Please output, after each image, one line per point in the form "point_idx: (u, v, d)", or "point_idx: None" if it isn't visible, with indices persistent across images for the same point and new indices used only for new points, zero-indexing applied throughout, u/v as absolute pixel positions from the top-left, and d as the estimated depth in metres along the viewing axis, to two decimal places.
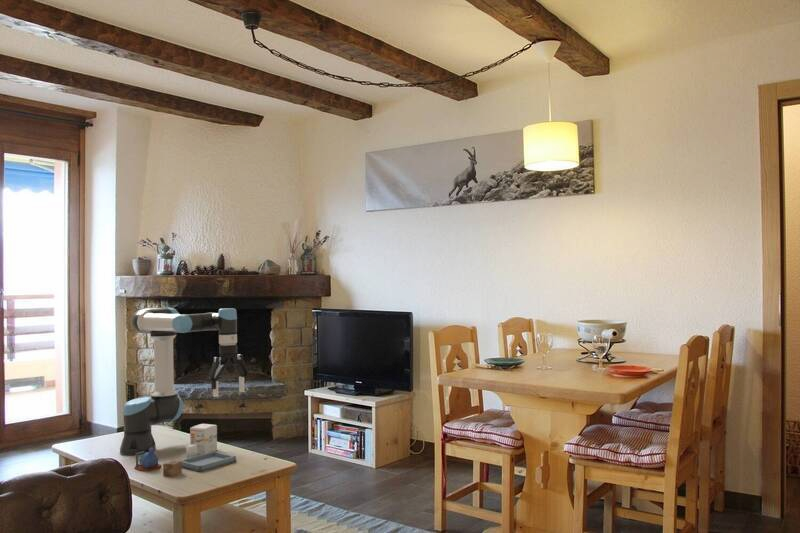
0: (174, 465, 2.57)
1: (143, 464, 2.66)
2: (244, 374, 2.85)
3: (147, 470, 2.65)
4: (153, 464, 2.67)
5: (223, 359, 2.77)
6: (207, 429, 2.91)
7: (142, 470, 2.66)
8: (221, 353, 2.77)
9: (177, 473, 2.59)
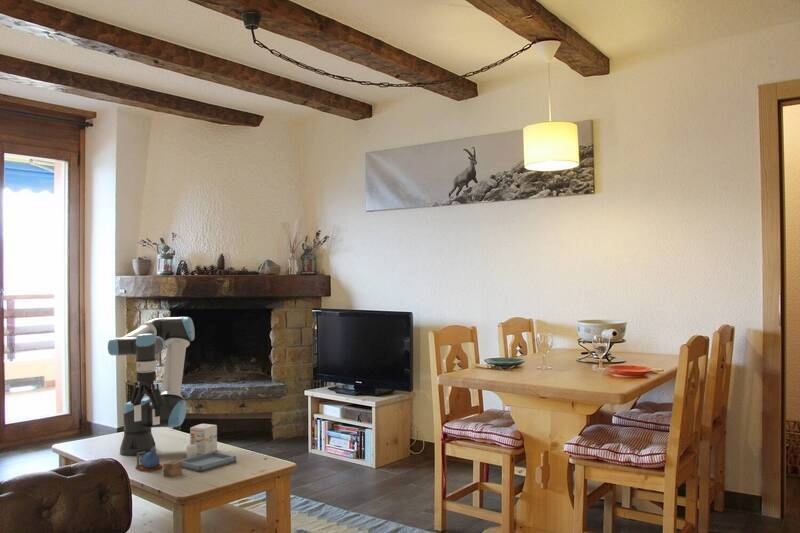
0: (174, 465, 2.57)
1: (145, 464, 2.66)
2: (154, 406, 2.66)
3: (149, 470, 2.65)
4: (155, 464, 2.67)
5: (139, 385, 2.73)
6: (207, 429, 2.91)
7: (144, 470, 2.66)
8: None
9: (177, 473, 2.59)
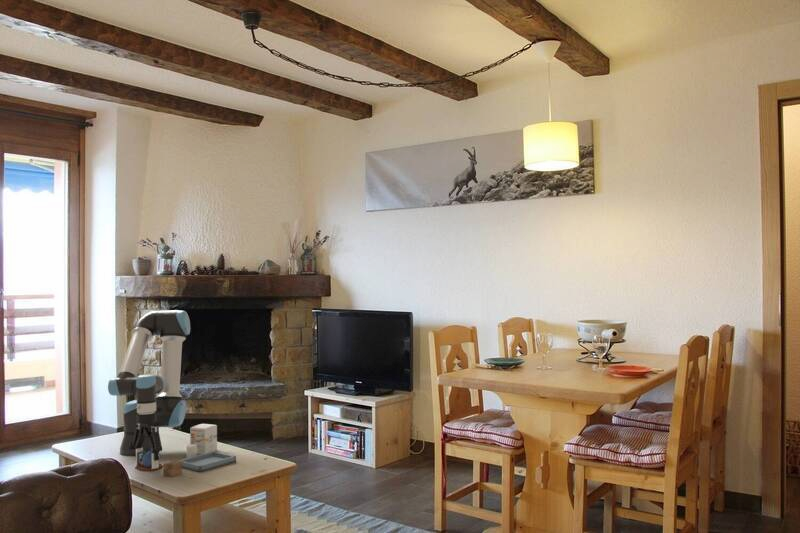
0: (174, 465, 2.57)
1: (145, 463, 2.67)
2: (153, 450, 2.66)
3: (149, 469, 2.66)
4: None
5: (139, 426, 2.72)
6: (207, 429, 2.91)
7: (144, 469, 2.66)
8: None
9: (177, 473, 2.59)
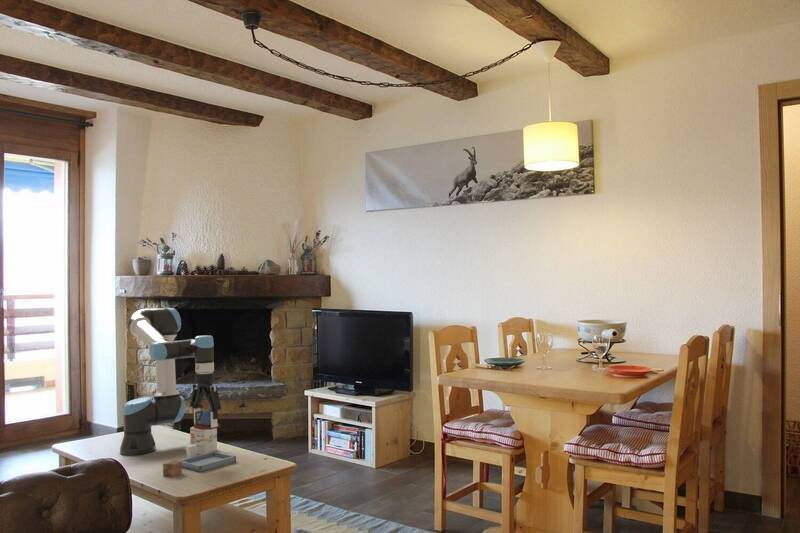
0: (174, 465, 2.57)
1: (204, 422, 2.70)
2: (212, 409, 2.69)
3: (208, 428, 2.69)
4: None
5: (197, 386, 2.76)
6: None
7: (203, 428, 2.69)
8: None
9: (177, 473, 2.59)
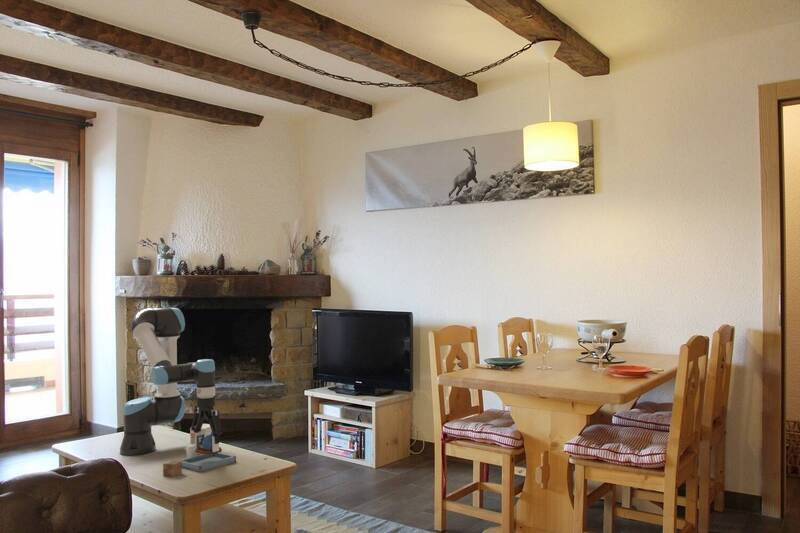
0: (174, 465, 2.57)
1: (205, 446, 2.70)
2: (214, 433, 2.69)
3: (210, 452, 2.69)
4: None
5: (199, 410, 2.76)
6: (207, 429, 2.91)
7: (205, 452, 2.69)
8: None
9: (177, 473, 2.59)
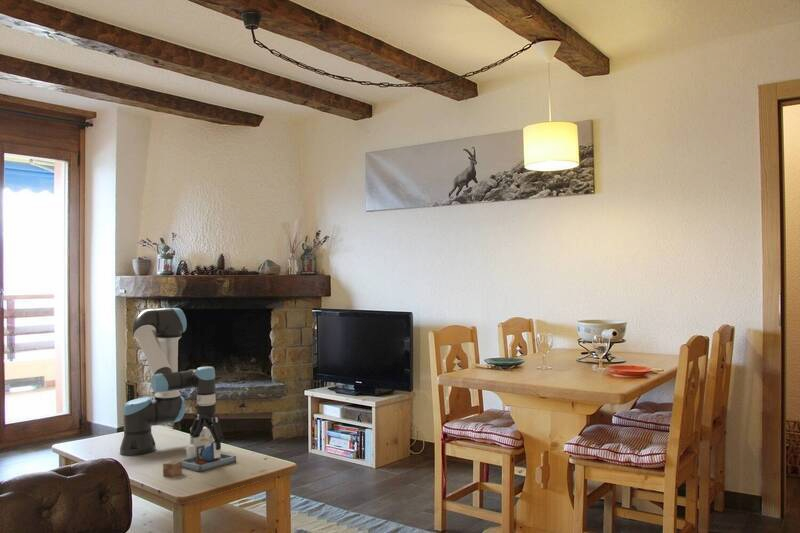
0: (174, 465, 2.57)
1: (205, 458, 2.70)
2: (215, 439, 2.69)
3: None
4: (215, 458, 2.71)
5: (199, 418, 2.75)
6: (207, 429, 2.91)
7: None
8: None
9: (177, 473, 2.59)
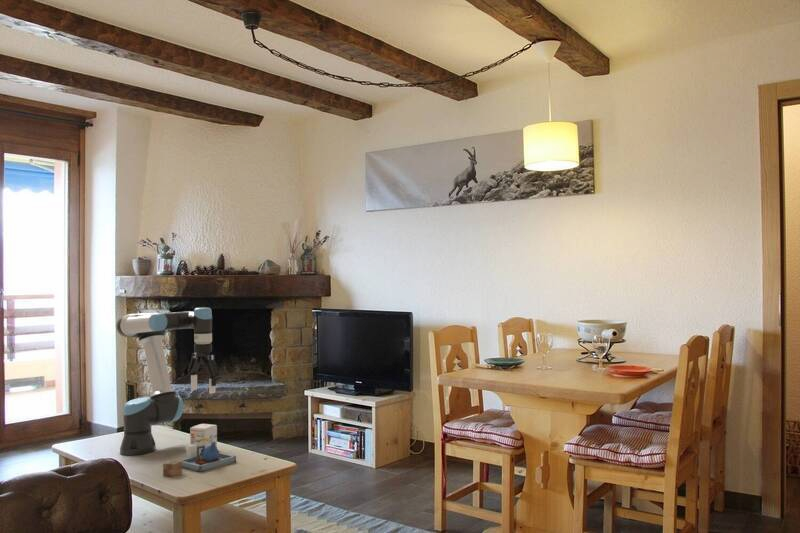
0: (174, 465, 2.57)
1: (205, 458, 2.70)
2: (211, 376, 2.81)
3: None
4: (215, 458, 2.71)
5: (196, 356, 2.88)
6: (207, 429, 2.91)
7: None
8: None
9: (177, 473, 2.59)
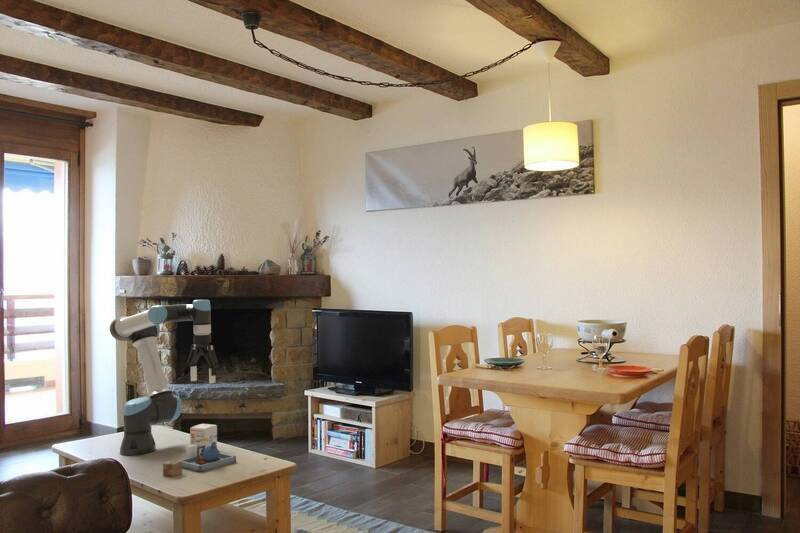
0: (174, 465, 2.57)
1: (206, 458, 2.70)
2: (210, 366, 2.87)
3: None
4: (215, 458, 2.71)
5: (195, 347, 2.94)
6: (207, 429, 2.91)
7: None
8: None
9: (177, 473, 2.59)
